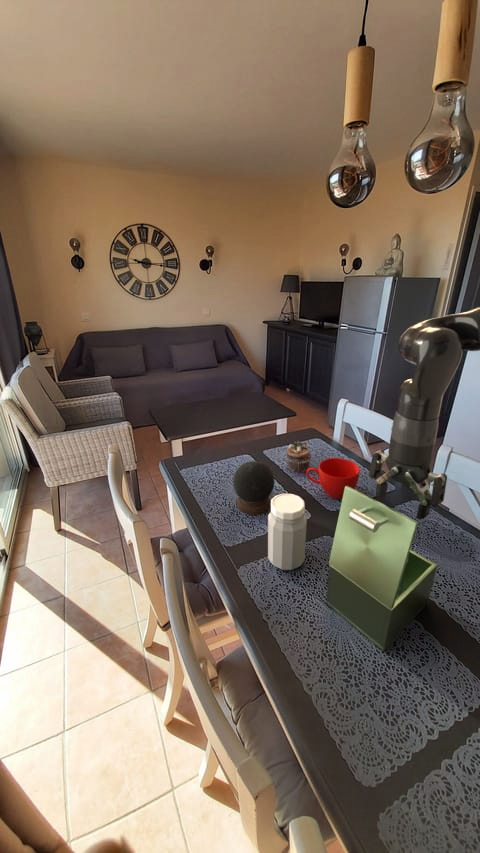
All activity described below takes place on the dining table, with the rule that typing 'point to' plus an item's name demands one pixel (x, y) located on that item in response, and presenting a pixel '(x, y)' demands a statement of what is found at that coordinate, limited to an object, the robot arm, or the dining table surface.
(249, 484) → the dark sphere on stand
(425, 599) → the bin
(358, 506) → the green lid with handle
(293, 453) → the cupcake
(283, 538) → the jar
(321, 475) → the ceramic cup
